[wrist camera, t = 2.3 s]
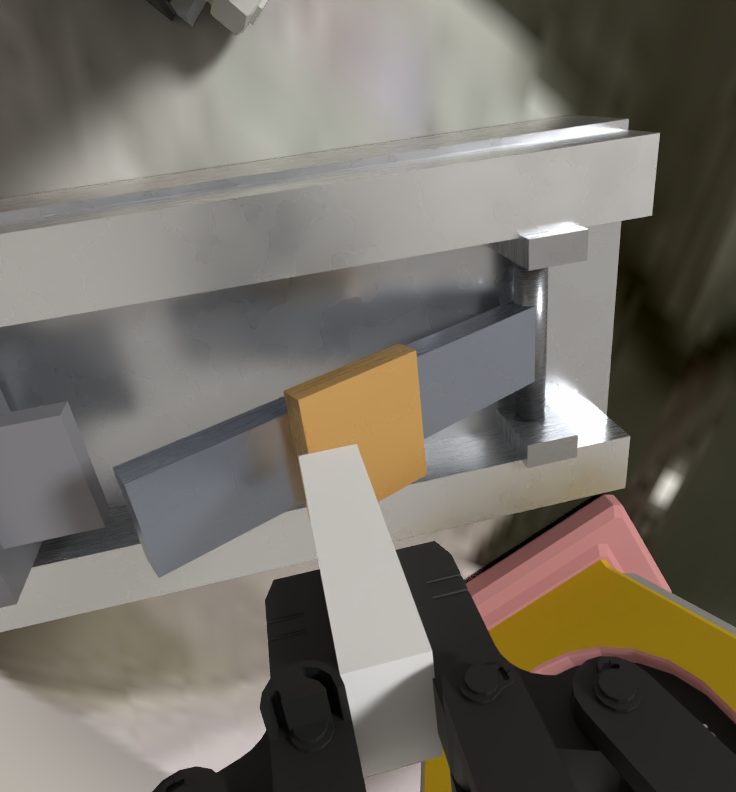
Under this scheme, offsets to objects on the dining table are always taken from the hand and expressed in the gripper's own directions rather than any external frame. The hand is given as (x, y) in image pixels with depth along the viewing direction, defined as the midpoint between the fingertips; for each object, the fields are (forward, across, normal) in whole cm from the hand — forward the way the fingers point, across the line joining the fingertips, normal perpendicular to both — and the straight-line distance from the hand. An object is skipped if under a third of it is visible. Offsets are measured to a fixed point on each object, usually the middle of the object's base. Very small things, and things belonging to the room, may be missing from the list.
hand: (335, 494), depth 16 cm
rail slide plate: (+12, 0, 0) cm, 12 cm away
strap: (+4, +2, 0) cm, 5 cm away
